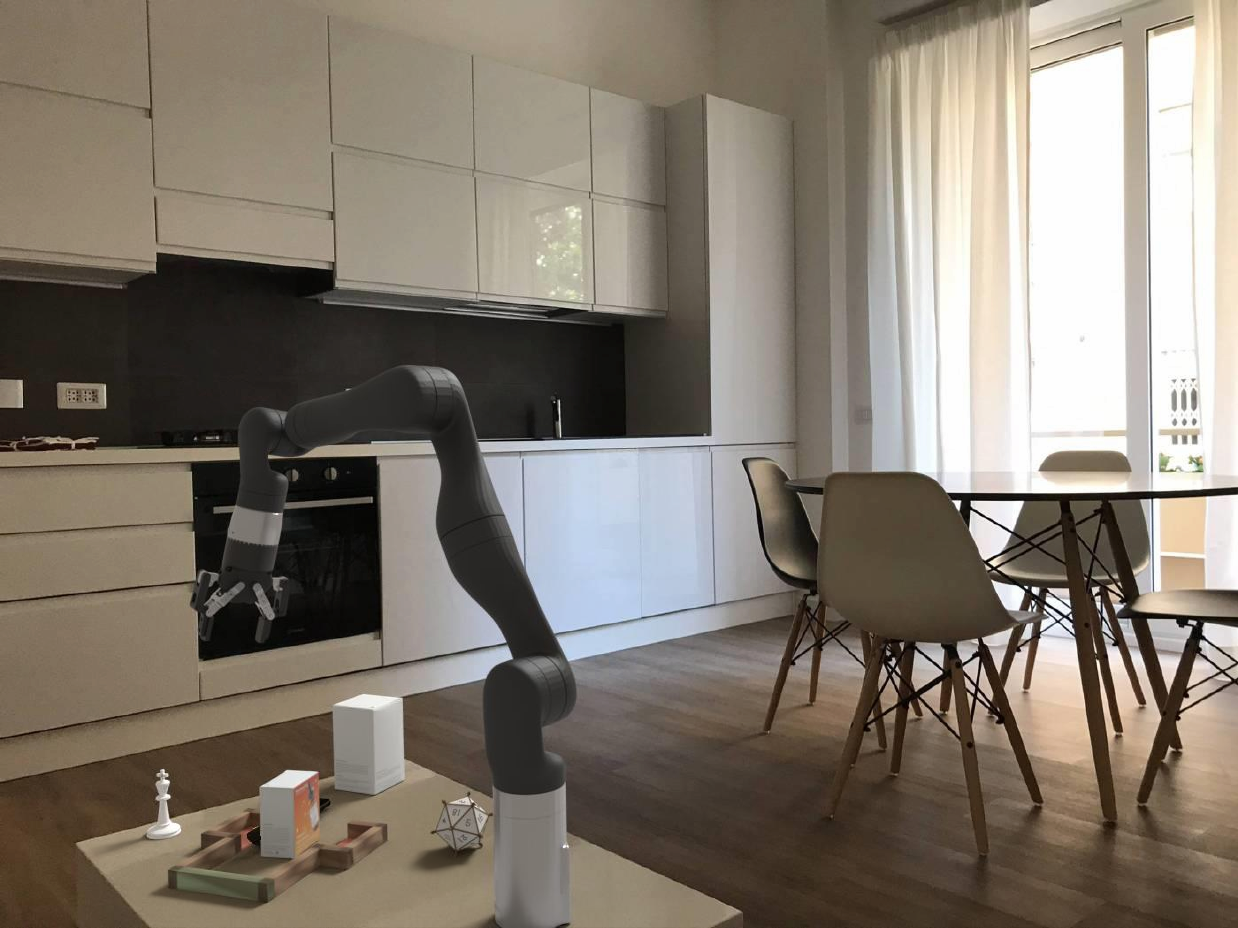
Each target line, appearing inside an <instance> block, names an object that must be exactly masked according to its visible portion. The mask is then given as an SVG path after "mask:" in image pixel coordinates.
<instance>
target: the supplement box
mask: <svg viewBox="0 0 1238 928" xmlns="http://www.w3.org/2000/svg"><path fill="white" fill-rule="evenodd" d="M403 700H404V699H403V697H397V696H396V697H395V696H387V695H386V696H385V695H378V694H377V695H375V694H370V693H369V694H368V693H362V694H359V695H356V696H354V697H351V698H348V699H345V700H343V701H340V702H337V703H334V704H333V705H331V706H332V728H333V729H332V731H333V732H332V733H333V738H332V739H333V762H334V763H333V766H334V767H333V768H334V769H333V770H334V772H333V773H334V789H335V790H338V791H344V792H345V791H346V792H350V793H351V792H353V793H359V794H365V795H372V796H375V795H377V794H380V793H381V792H383V791H385V790H388V789H389V788H391V787H393V786H395V785H397V784H400V783H401V782H403V781H405V780H406V779H405V747H404V746H405V745H404V743H405V742H404V739H405V738H404V705H403V704H404V703H403V702H404V701H403Z"/></svg>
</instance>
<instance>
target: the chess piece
mask: <svg viewBox="0 0 1238 928" xmlns="http://www.w3.org/2000/svg"><path fill="white" fill-rule="evenodd" d="M159 771H160V772H159V773H156V777H157V778H160V780H158V781H156V782H155V787H156V789H157V793H158V795H157V796H156V797H155V801H158V802H159V810H158V816H157V817H158V818H157V822H155V825H153V826H151V827H149V828H148V829H147V831H146V837H147V839H151V840H164V839H169V838H173V837H175V836H177V835H179V834H181V832H182V829H181V824H178V823H176V822H172V820H170V815H169V810H168V809H169V808H168V803H167V802H168V801H167V800H169V799H171V795H170V794H168V790H169V789H168V788H169V786H170V783H171V782H170V780H168V779H165V778H167V777H169V773H167V772H166V773H165V769H160V770H159Z"/></svg>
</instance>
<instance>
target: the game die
mask: <svg viewBox="0 0 1238 928" xmlns="http://www.w3.org/2000/svg"><path fill="white" fill-rule="evenodd" d="M471 794H472V793H471V791H470V790H469V791H467V793H466V796H464V797H461V798H458V799H454V800H452V801H448V802H447V801H446V799H441V803H442V804H443V808H442V811H441V813H440V816H439V819H438V822H437V824H436V828H435V830H434V829H433V830H431V831H430V832H429V834H430V835H434V834H437V835H438V836H439V837H440V838H441V839H442V840H443V841H444V842H445V843H446V844H447V845H448V846H449V847H450V848H451V849H453V850H454V852H453V853H454V854H453V856H454V858H456V857H457V856H458V854H459V851H462V850H464V849H467V848H470V847H473V846H475V845H478V846H479V847H480V848H481V847H482V848H483V846H484V845H483V843H482V842H481V841H482V839H484V832H485V830H486V827H487V823H488V821H489V818H490V817H493V812H491V813H490V812H489V813H488V811H486V810H485V809H484V808H482V807H481V806H480V805H479V803H477V802H476V801H475V800H474V799H473V798H471V797H470V796H471Z"/></svg>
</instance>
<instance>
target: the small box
mask: <svg viewBox="0 0 1238 928" xmlns="http://www.w3.org/2000/svg"><path fill="white" fill-rule="evenodd" d="M319 773H320V772H319V771H314V770H293V769H286V770H285V771H283V772H282V773H281V774H279V775H277V776H276V777H275V778H273V779H271V780H269V781H268V782H266V783H264V784H262V785H261V786H259V787H258V788H259V809H260V836H261V840H260V856H261V857H262V858H263V857H265V858H276V859H277V858H280V859H294V858H296V857H297V856H299V855H300V854H302V853H303V852H305V851H306V850H308V849H309V848H311V847H312V846H313V845H315V844H316V843H317V842H318V841H319V840H320V839H321V833H320V832H321V831H320V830H321V829H320V828H321V827H320V825H321V824H320V778H319V777H320V776H319V775H320V774H319ZM316 841H317V842H316Z"/></svg>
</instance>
